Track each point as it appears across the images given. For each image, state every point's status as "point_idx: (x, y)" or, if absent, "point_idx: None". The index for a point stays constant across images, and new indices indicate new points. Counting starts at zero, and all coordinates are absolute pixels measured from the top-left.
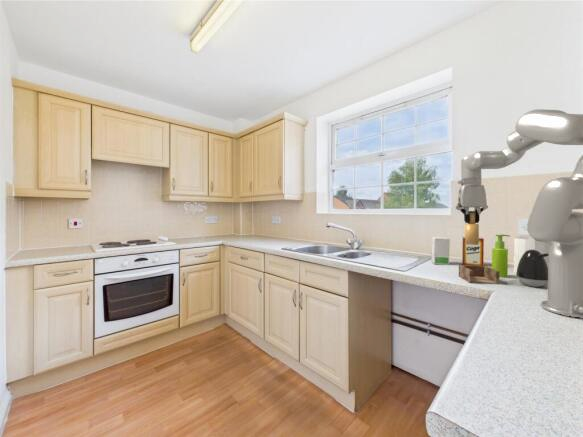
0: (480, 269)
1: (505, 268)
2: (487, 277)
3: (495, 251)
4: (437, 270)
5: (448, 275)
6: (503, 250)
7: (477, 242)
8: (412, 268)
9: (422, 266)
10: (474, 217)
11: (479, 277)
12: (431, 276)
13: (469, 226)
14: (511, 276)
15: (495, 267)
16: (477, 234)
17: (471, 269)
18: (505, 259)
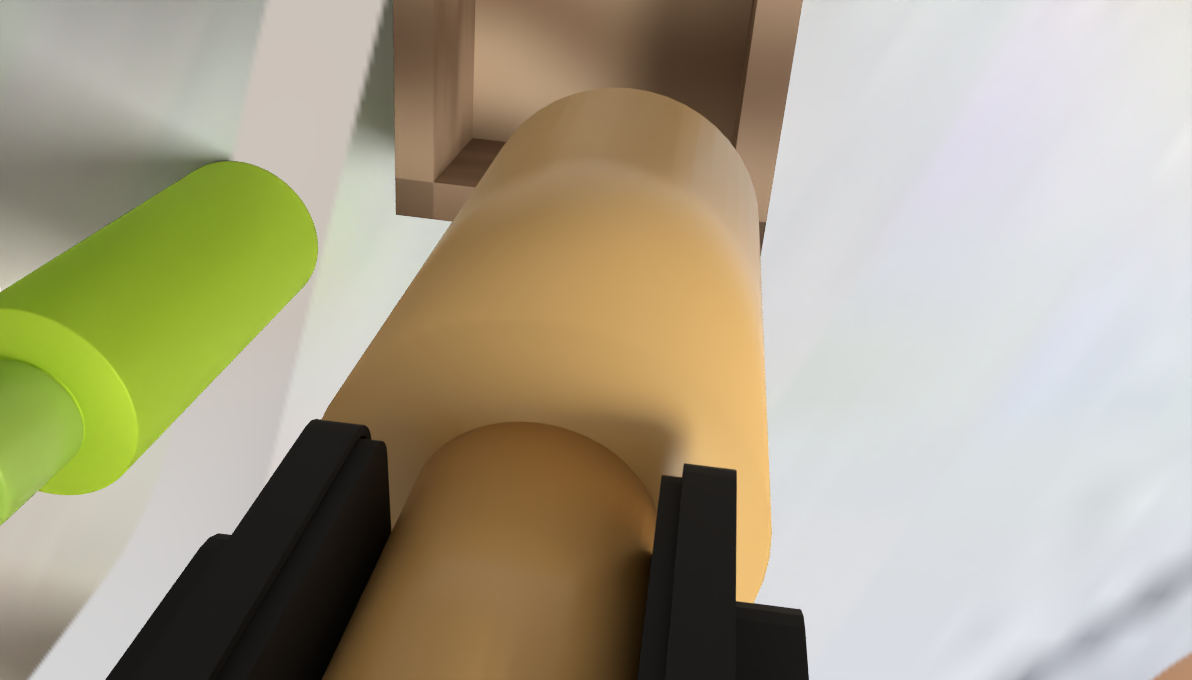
0: None
1: (154, 198)
2: (470, 50)
3: (135, 355)
4: (857, 487)
5: (865, 248)
6: (19, 306)
7: (551, 113)
8: (1133, 589)
9: (932, 670)
10: (390, 639)
11: (545, 102)
12: (1144, 192)
13: (715, 350)
14: (124, 212)
15: (255, 248)
16: (508, 180)
17: None
18: (81, 246)
